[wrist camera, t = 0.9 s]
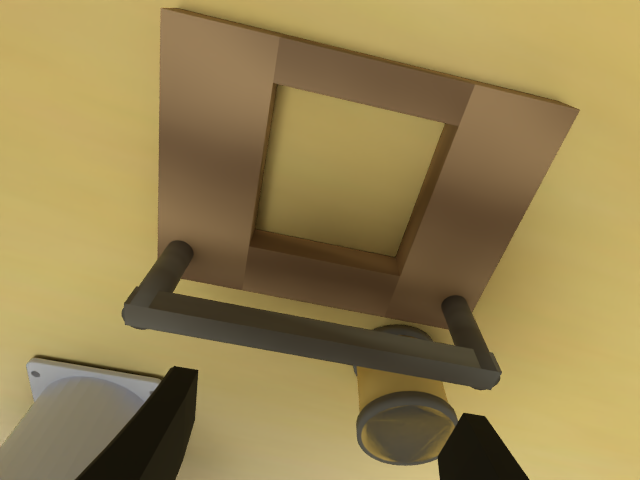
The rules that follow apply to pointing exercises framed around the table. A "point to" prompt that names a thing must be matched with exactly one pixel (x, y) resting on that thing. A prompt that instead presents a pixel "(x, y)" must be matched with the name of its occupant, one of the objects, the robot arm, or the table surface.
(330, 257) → the brown piece
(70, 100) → the table surface
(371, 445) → the cord reel
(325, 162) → the table surface
